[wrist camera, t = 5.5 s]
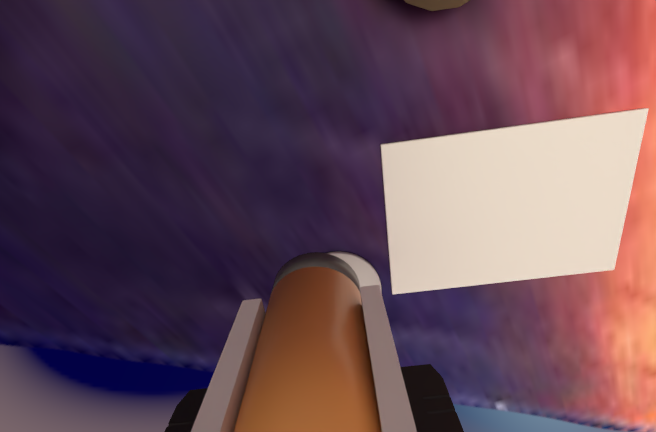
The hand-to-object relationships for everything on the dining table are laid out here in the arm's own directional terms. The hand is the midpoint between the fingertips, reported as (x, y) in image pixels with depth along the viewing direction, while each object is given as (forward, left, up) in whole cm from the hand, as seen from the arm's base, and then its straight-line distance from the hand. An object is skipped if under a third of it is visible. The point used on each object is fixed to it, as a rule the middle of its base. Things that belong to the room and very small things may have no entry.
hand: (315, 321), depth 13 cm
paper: (+15, -3, -16) cm, 22 cm away
